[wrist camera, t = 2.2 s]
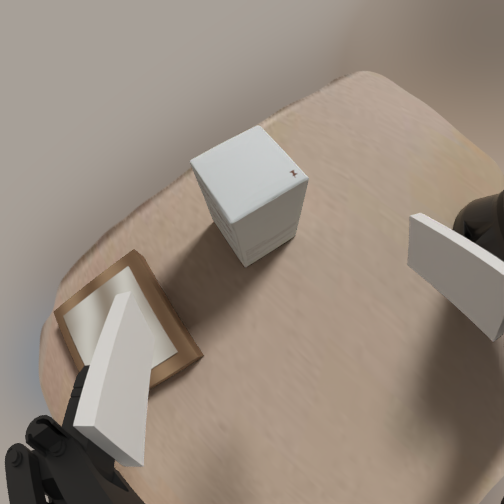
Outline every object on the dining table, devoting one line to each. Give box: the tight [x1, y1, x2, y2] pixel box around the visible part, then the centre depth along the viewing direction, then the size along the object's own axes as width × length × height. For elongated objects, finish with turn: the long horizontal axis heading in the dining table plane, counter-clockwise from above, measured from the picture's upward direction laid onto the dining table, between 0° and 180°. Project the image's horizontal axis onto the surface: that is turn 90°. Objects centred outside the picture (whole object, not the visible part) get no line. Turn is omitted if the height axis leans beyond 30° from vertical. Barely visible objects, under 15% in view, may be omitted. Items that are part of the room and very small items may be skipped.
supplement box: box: [190, 125, 309, 267], centre depth 28 cm, size 7×7×13 cm
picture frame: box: [54, 249, 204, 390], centre depth 29 cm, size 14×14×3 cm
